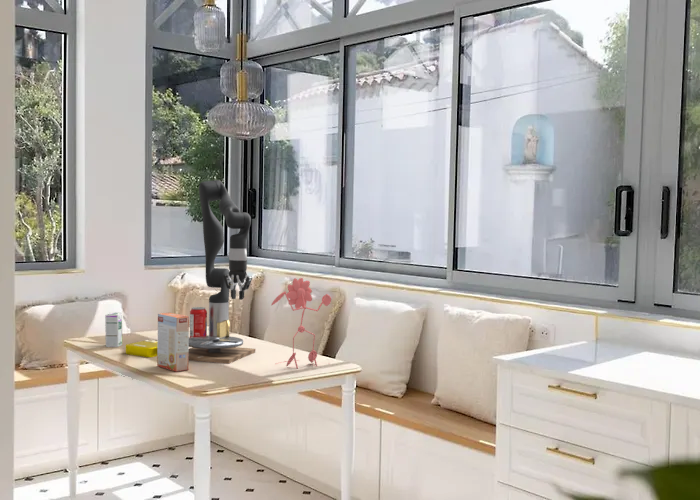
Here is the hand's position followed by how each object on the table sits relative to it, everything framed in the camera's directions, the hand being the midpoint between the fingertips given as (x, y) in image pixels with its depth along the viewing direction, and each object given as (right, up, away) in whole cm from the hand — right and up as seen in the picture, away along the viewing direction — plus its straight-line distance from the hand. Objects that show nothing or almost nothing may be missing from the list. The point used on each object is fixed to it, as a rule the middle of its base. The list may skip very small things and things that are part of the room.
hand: (237, 298), depth 330 cm
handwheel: (-9, -18, -6) cm, 21 cm away
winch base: (-9, -23, -6) cm, 26 cm away
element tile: (-37, -23, -3) cm, 44 cm away
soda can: (-23, -21, +31) cm, 44 cm away
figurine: (+27, -25, -21) cm, 43 cm away
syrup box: (-56, -22, +10) cm, 61 cm away
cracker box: (-20, -25, -33) cm, 46 cm away
